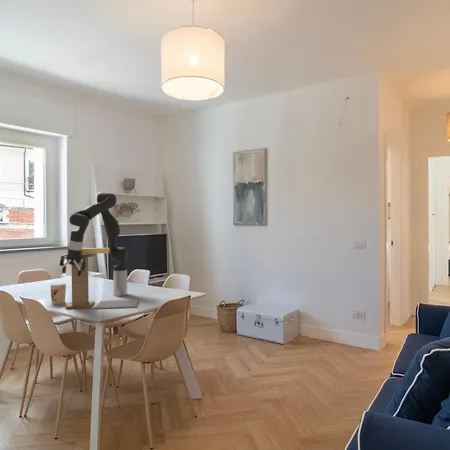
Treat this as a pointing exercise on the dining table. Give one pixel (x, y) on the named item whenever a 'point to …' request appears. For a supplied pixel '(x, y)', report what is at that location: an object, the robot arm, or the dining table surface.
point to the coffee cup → (58, 293)
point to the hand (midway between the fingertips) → (71, 274)
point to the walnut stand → (80, 287)
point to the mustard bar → (94, 250)
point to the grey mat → (117, 304)
